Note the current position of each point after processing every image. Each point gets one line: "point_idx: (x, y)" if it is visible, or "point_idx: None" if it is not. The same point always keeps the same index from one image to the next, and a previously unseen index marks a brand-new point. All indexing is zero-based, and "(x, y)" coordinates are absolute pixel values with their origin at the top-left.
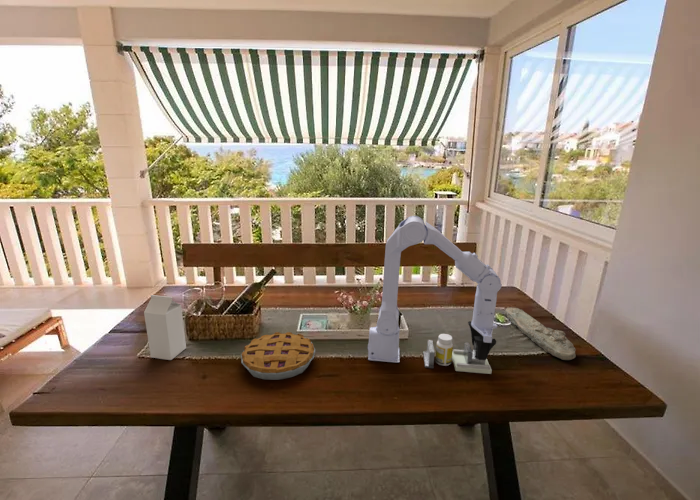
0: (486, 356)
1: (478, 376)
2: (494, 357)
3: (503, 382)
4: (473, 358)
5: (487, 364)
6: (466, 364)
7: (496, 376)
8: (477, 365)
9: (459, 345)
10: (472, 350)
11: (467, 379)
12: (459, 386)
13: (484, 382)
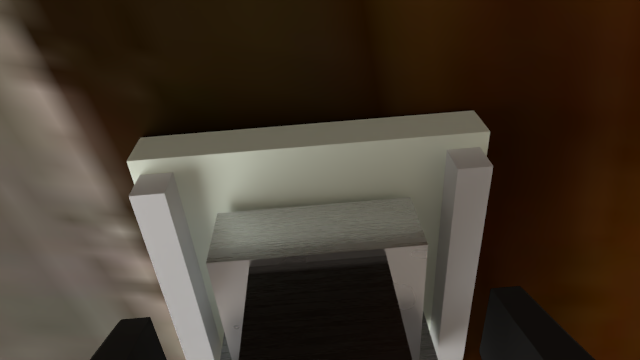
0: (563, 337)
1: (514, 223)
2: (77, 9)
3: (635, 2)
4: (416, 347)
5: (372, 161)
6: (455, 355)
7: (516, 61)
8: (466, 282)
9: (7, 324)
10: (237, 346)
11: (553, 296)
12: (631, 340)
13: (608, 188)
